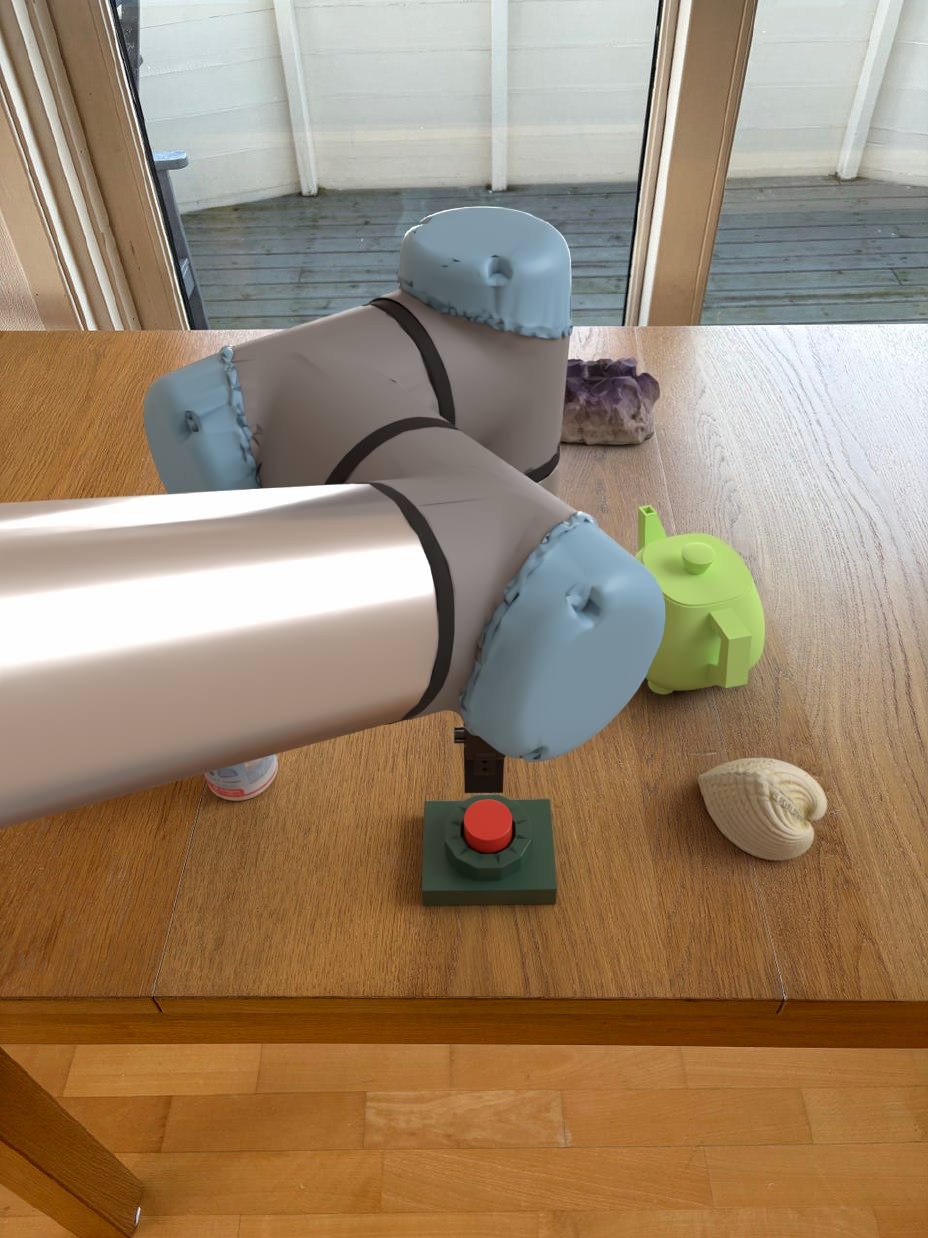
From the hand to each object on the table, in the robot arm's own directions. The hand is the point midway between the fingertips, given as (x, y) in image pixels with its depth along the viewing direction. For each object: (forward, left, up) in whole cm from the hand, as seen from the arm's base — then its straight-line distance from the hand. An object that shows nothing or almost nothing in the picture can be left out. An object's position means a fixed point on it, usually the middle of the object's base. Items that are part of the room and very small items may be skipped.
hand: (483, 784), depth 67 cm
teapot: (+29, +1, -10) cm, 31 cm away
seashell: (+18, -14, -10) cm, 25 cm away
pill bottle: (-7, +21, -10) cm, 24 cm away
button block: (0, 0, -10) cm, 10 cm away
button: (0, 0, -7) cm, 7 cm away
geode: (+53, +32, -10) cm, 63 cm away
